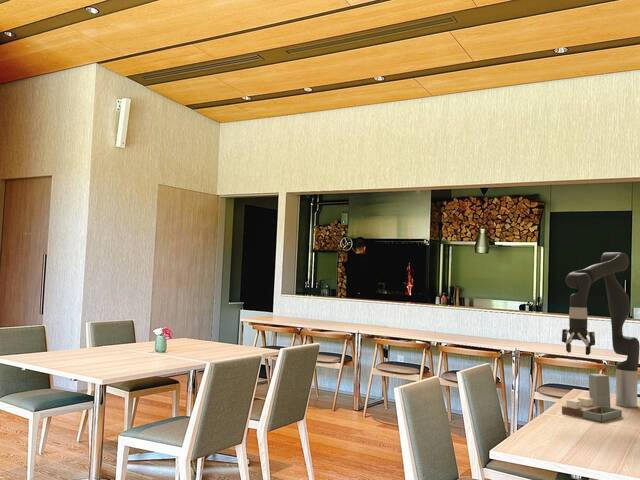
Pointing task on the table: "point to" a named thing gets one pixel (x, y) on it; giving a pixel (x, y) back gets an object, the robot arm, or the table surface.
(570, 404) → the cream square block
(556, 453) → the table surface
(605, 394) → the skincare box
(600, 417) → the tray
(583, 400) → the tile
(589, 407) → the walnut board
